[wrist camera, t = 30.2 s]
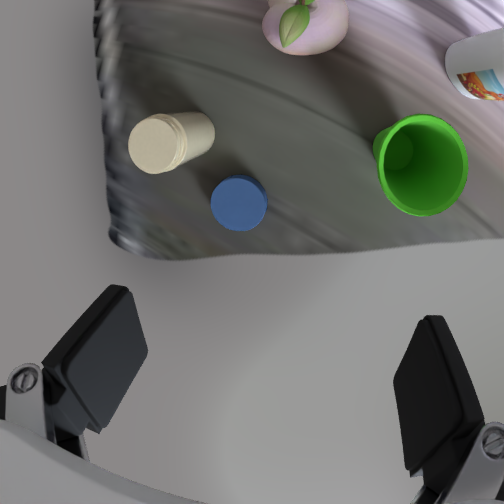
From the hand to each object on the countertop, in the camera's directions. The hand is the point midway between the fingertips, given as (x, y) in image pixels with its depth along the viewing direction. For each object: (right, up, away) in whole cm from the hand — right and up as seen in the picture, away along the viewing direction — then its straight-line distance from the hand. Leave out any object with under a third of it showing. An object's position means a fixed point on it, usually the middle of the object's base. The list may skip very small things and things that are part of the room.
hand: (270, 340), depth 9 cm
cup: (+16, +15, +22) cm, 31 cm away
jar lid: (-2, +8, +27) cm, 28 cm away
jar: (-8, +17, +25) cm, 31 cm away
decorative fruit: (+6, +28, +17) cm, 33 cm away
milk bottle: (+26, +25, +15) cm, 39 cm away
